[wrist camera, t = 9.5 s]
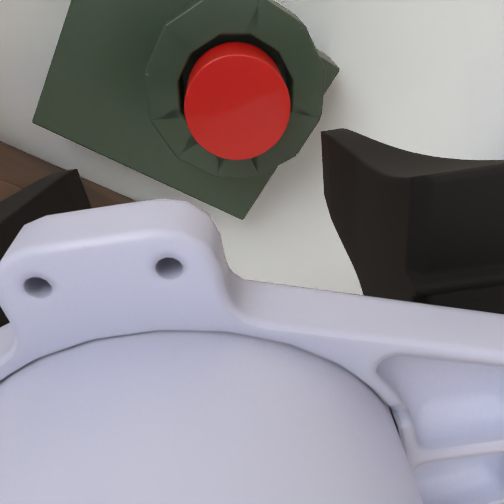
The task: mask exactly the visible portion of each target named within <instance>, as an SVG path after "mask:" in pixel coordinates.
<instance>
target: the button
mask: <svg viewBox="0 0 504 504" xmlns="http://www.w3.org/2000/svg"><path fill="white" fill-rule="evenodd" d="M290 110H291V104H290V96H289V92H288V89H287V86H286V84H285V82H284V80H283V77H282V75H281V73H280V71H279V68H278V67H277V65H276V63H275V62H274V61H273V59H272V58H271V57H270V56H269V55H268V54H267V53H266V52H264V51H263V50H262V49H260V48H258V47H256V46H254V45H252V44H249V43H244V42H226V43H222V44H219V45H217V46H214V47H213V48H211V49H209V50H208V51H206V52H205V53H204V54H203V55H202V56H201V57H200V58H199V59H198V60H197V62H196V63H195V65H194V66H193V68H192V70H191V73H190V75H189V79H188V84H187V89H186V95H185V101H184V113H185V119H186V122H187V126H188V128H189V130H190V132H191V134H192V135H193V137H194V138H195V140H196V141H197V142H198V143H199V144H200V145H201V146H202V147H203V148H204V149H206V150H207V151H208V152H210V153H212V154H214V155H216V156H218V157H221V158H225V159H230V160H245V159H250V158H253V157H256V156H259V155H261V154H263V153H264V152H266V151H268V150H269V149H270V148H271V147H273V146H274V145H275V144H276V143H277V142H278V141H279V139H280V138H281V136H282V135H283V133H284V131H285V130H286V127H287V125H288V121H289V117H290Z"/></svg>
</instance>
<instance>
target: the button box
mask: <svg viewBox="0 0 504 504" xmlns="http://www.w3.org/2000/svg"><path fill="white" fill-rule="evenodd" d="M226 42H244V43H249V44H252V45H254V46H256V47H258V48H260V49H262V50H263V51H264V52H266V53H267V54H268V55H269V56H270V57H271V58H272V59H273V61H274V62H275V63H276V65H277V67H278V68H279V71H280V73H281V75H282V77H283V80H284V82H285V84H286V86H287V89H288V92H289V96H290V104H291V110H290V117H289V121H288V125H287V127H286V130H285V131H284V133H283V135H282V136H281V138H280V139H279V141H278V142H277V143H276V144H275V145H274V146H273V147H271V148H270V149H269V150H268V151H266V152H264V153H263V154H261V155H259V156H256V157H253V158H250V159H245V160H230V159H225V158H221V157H218V156H216V155H214V154H212V153H210V152H208V151H207V150H206V149H204V148H203V147H202V146H201V145H200V144H199V143H198V142H197V141H196V140H195V138H194V137H193V135H192V134H191V132H190V130H189V128H188V126H187V122H186V119H185V113H184V101H185V95H186V89H187V84H188V79H189V75H190V73H191V70H192V68H193V66H194V65H195V63H196V62H197V60H198V59H199V58H200V57H201V56H202V55H203V54H204V53H205V52H206V51H208V50H209V49H211V48H213V47H214V46H217V45H219V44H222V43H226ZM338 72H339V68H338V66H337V65H336V64H335V63H334V62H333V61H332V60H331V58H330V57H328V56H327V55H325V54H323V53H322V52H320V51H319V50H317V49H316V48H315V46H314V44H313V41H312V39H311V37H310V35H309V33H308V31H307V28H306V26H305V25H304V24H303V23H302V22H301V21H300V19H299V18H298V17H297V16H296V15H295V14H293V13H292V12H290V11H289V10H287V9H286V8H284V7H283V6H281V5H280V4H278V3H277V2H275V1H274V0H71V3H70V6H69V10H68V13H67V16H66V19H65V22H64V25H63V28H62V31H61V34H60V37H59V40H58V43H57V46H56V50H55V53H54V56H53V59H52V62H51V65H50V68H49V71H48V74H47V77H46V80H45V83H44V86H43V90H42V93H41V96H40V99H39V102H38V105H37V108H36V111H35V114H34V117H33V120H32V121H33V123H34V124H37V125H39V126H41V127H43V128H45V129H47V130H50V131H52V132H54V133H56V134H58V135H60V136H62V137H65V138H67V139H69V140H71V141H73V142H75V143H78V144H80V145H82V146H84V147H86V148H88V149H91V150H93V151H95V152H97V153H99V154H101V155H103V156H106V157H108V158H110V159H112V160H114V161H116V162H119V163H121V164H123V165H125V166H127V167H129V168H132V169H134V170H136V171H138V172H140V173H142V174H144V175H147V176H149V177H151V178H153V179H155V180H157V181H160V182H162V183H164V184H166V185H168V186H170V187H173V188H175V189H177V190H179V191H181V192H183V193H185V194H188V195H190V196H192V197H194V198H196V199H198V200H201V201H203V202H205V203H207V204H209V205H211V206H214V207H216V208H218V209H220V210H222V211H224V212H226V213H229V214H231V215H233V216H235V217H237V218H239V219H242V220H243V219H244V218H245V216H246V215H247V213H248V211H249V210H250V208H251V207H252V205H253V204H254V202H255V201H256V199H257V197H258V196H259V194H260V193H261V191H262V190H263V188H264V187H265V185H266V184H267V182H268V180H269V179H270V177H271V176H272V174H273V173H274V171H275V170H276V168H277V166H278V165H280V164H282V163H284V162H285V161H287V160H289V159H291V158H293V157H294V156H296V154H297V153H298V152H299V151H300V149H301V148H302V146H303V144H304V143H305V141H306V140H307V138H308V137H309V135H310V134H311V132H312V131H313V129H314V128H315V126H316V125H317V123H318V122H319V120H320V117H321V115H322V105H323V95H324V94H325V92H326V90H327V89H328V87H329V86H330V84H331V83H332V81H333V80H334V78H335V77H336V75H337V73H338Z"/></svg>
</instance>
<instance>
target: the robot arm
mask: <svg viewBox="0 0 504 504" xmlns="http://www.w3.org/2000/svg"><path fill="white" fill-rule="evenodd" d="M321 143H322V162H323V180H324V195H325V199H326V203H327V206H328V210H329V213H330V217H331V219H332V222H333V224H334V226H335V228H336V230H337V233H338V235H339V237H340V239H341V241H342V243H343V245H344V247H345V250H346V252H347V254H348V256H349V258H350V260H351V262H352V264H353V266H354V269H355V271H356V274H357V276H358V279H359V282H360V285H361V288H362V291H363V294H364V296H363V295H356V294H349V293H341V292H334V291H326V290H319V289H312V288H304V287H297V286H289V285H282V284H274V283H267V282H260V281H252V280H245V279H243V278H241V277H239V276H238V275H236V274H234V273H233V272H232V270H231V269H230V268H229V266H228V263H227V261H226V258H225V254H224V249H223V245H222V240H221V235H220V233H219V231H218V229H217V227H216V226H215V224H214V222H213V220H212V218H211V217H210V215H209V214H208V213H206V212H205V211H203V210H201V209H200V208H198V207H196V206H195V205H193V204H191V203H190V202H188V201H185V200H173V199H161V198H158V199H152V200H145V201H138V202H132V203H125V204H118V205H112V206H105V207H99V208H92V207H91V204H90V202H89V199H88V196H87V194H86V191H85V189H84V186H83V183H82V181H81V178H80V176H79V173H78V170H77V169H74V170H68V171H61V172H56V173H53V174H50V175H48V176H45V177H43V178H41V179H39V180H38V181H36V182H34V183H32V184H30V185H29V186H27V187H25V188H24V189H22V190H20V191H18V192H17V193H15V194H13V195H12V196H10V197H8V198H6V199H5V200H3V201H1V202H0V504H504V160H460V159H449V158H440V157H433V156H427V155H422V154H418V153H413V152H409V151H405V150H402V149H398V148H395V147H392V146H389V145H386V144H383V143H381V142H378V141H375V140H373V139H370V138H368V137H366V136H363V135H361V134H358V133H356V132H353V131H351V130H348V129H343V128H341V129H335V130H328V131H322V132H321Z"/></svg>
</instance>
